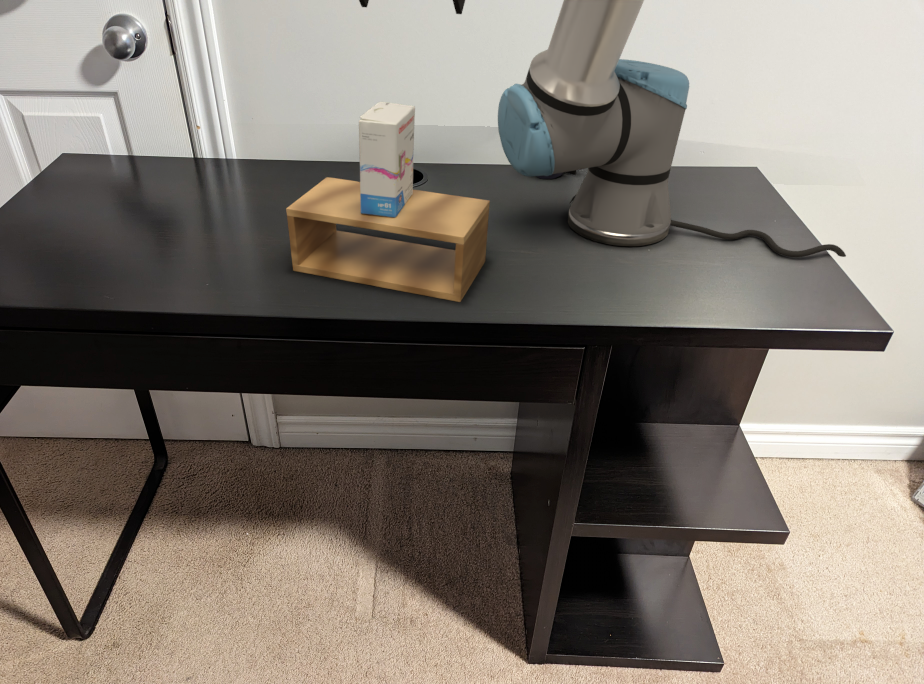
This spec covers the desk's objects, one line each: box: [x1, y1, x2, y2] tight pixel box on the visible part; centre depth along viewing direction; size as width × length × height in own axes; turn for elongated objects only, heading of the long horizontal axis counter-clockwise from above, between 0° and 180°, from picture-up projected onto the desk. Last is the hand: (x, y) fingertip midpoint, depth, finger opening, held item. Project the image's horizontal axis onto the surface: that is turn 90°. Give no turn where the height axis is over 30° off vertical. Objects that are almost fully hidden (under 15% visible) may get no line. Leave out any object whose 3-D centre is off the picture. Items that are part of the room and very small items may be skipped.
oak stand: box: [285, 176, 491, 303], centre depth 92 cm, size 24×12×9 cm, turn 70°
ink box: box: [358, 101, 416, 218], centre depth 86 cm, size 9×5×12 cm, turn 165°
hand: (408, 4), depth 91 cm, fingers open, 13 cm apart
